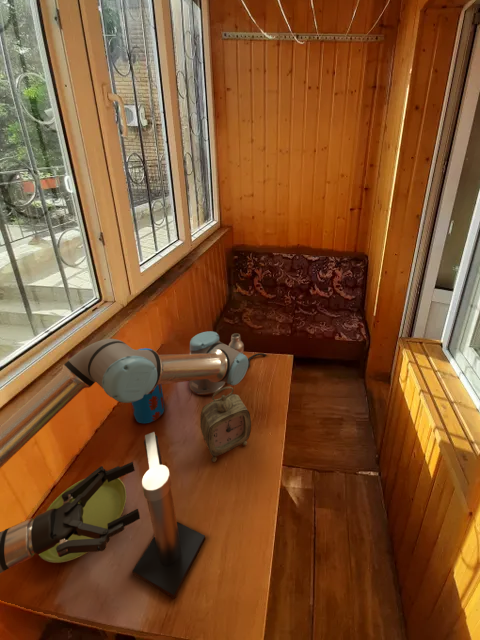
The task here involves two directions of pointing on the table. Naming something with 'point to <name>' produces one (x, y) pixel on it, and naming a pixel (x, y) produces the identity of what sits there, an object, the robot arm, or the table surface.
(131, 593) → the table surface
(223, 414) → the tabletop clock
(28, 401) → the robot arm
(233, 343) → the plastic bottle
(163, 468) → the spout
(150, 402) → the thermos
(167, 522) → the standpipe
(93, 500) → the green plate
